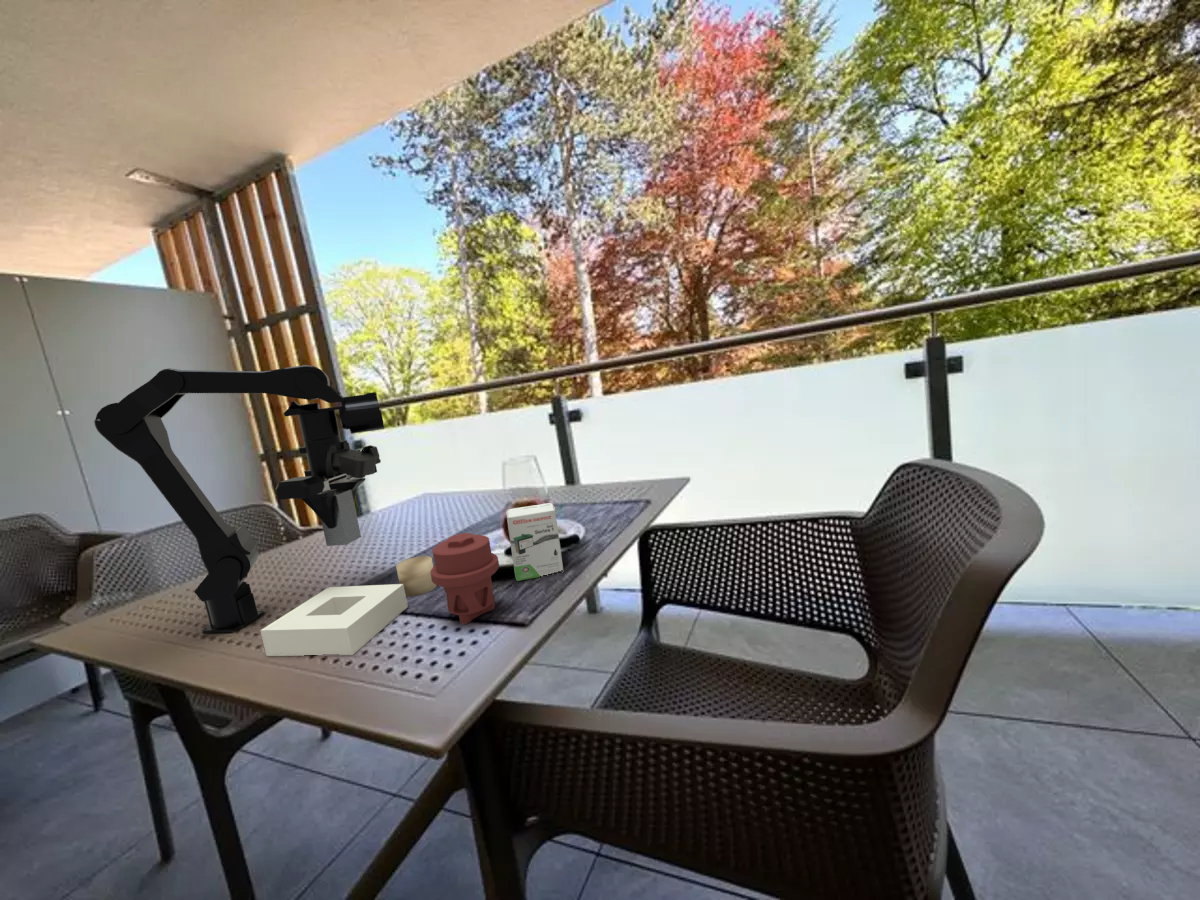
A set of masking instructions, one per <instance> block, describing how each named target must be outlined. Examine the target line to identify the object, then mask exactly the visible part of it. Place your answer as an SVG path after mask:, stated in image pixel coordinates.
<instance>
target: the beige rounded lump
mask: <svg viewBox="0 0 1200 900" xmlns="http://www.w3.org/2000/svg"><path fill="white" fill-rule="evenodd" d="M433 567H434V564H433V558H432V556H429V555H420V556H414V557H410V558H407V559H405V560H402V561H401V562H399V563H398V564H396V567H395V568H396V572H397V578H398V584H403V585H404V590H405V595H406V597H416V596H421V595H424V594H426V593H429V592H431V591H433V590H434V589H435V588H436V587H437V585H436V584H434V583H433V582H432V579H431V573H430V572H431V569H432V568H433Z"/></svg>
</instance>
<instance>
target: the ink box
mask: <svg viewBox="0 0 1200 900" xmlns="http://www.w3.org/2000/svg"><path fill="white" fill-rule="evenodd" d="M505 515H506V520H507V528H508V535H509V541H510V542H509V543H510V549H511V555H512V563H513V569H514V570H513V571H514V577H515V580H516V581H517V582H520V581H526V580H529V579H531V580H532V579H536V578H540V576H541V577H544V576H543V575H547V576H549V575H548V574H551V573H554V572H558V571H561V570H563V571H564V566H563V559H562V558H563V557H562V551H561V550H562V549H561V543H560V536H559V528H558V520H557V514H556V508H555V506H554V504H553V503H551V502H548V503H547V502H546V503H541V504H536V505H535V504H534V505H528V506H521V507H514V508H509V509H508V510H507V511H505Z"/></svg>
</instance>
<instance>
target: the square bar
mask: <svg viewBox="0 0 1200 900" xmlns="http://www.w3.org/2000/svg"><path fill="white" fill-rule="evenodd" d="M332 503H333V510H334V516H335V528H331V529H329V528H328V527H327V526H326V525H325V524H324V522H323V521H322V520H321V519H320V522H321V525H322V529H323V535H324V538H325V540H324V541H325V543H326V547H333V546H335V547H336V546H347V545H349V544H351V543H353V542H355V541H357V540H358V539H360V538H362V535H361V529H360V525H359V520H358V515H357V510H356V506H355V499H354V500H353V495H352V491H351V489H349V490H338V491H336V492H335V494H334V496H333V498H332Z"/></svg>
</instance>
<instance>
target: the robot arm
mask: <svg viewBox="0 0 1200 900" xmlns="http://www.w3.org/2000/svg"><path fill="white" fill-rule="evenodd" d="M186 394H268V395H275V396H280V397H287V398H295V399H302V400H308V401H309V400H310V401H311V400H322V401H323V402H326V403H328V404H332V403H333V404H334V403H341V405H339V406H332V407H324V408H321V405H320V404H319V402H311V403H306V404H299V403H298V402H296V401H295V400H293V401H291V402H290V405H289V407H288V408H287V409H286V410H285V411H284V412H283V416H284V417H291V416H297V418H298V423H299V427H300V432H301V437H302V440H303V444H304V445H303V447H299V448H298V450H299V454H300V455H302V454H305V455H306V459H307V464H308V467H309V469H308V470H304V471H303V474H304V476H297V477H296V476H295V477H291V478H289V479H286V480H282V481H279V482H278V483H277V485H276V487H275V492H276V497H277V500H278V501H280V500H282V501H283V500H293V499H294V500H295V499H297V500H299V499H301V500H302V502H304V503H305V504H306V506H308V507H309V509H311V510H312V511H313V513H314V514H316V516H318V518H319V519H320V521H321V520H322V521H323V522H324V524H325V525H326V526H327V527H328V528H329V529H331V528H335V516H334V510H333V503H332V498H333V496H334V494H335V492H336V491H338V490H349V489H351V491H352V495H353V500H354V501H355V497H356V492H357V490H358V488H359V486H361V484H363V482H365V481H366V478H365V477H367V476H370V475H374V474H375V473H378V470H377V465H378V464H380V463H381V460H382V459H380V453H379V449H378V447H377V446H375V445H371V444H370V445H365V446H364V447H362V449H356V450H355V449H352V448H351V447H350V442H348V439H347V440H342V439H341V438H342V437H341V433H340V428H339V423H338V419H337V415H336V411H338V413H339V418H340V423H341V427H342V429H343V430H349V431H350V434H351V435H354V434H359V433H365V432H374V431H378V430H384V429H385V425H384V419H383V414H382V410H381V408H380V404H379V399H378V395H377V392H376V391H375V392H374V391H372V392H367V393H365V394H357V395H349V396H343V395H342V393H341V391H337V389H335V388H334V387H333V386H331V382H330V378H329V376H328V375H327V373H325V372H324V371H323V370H322V369H320V368H318V367H317V366H314V365H310V364H305V365H297V366H291V367H282V368H277V369H272V370H263V371H261V370H260V371H257V370H254V371H253V370H250V371H249V370H246V371H245V370H197V369H195V370H190V369H189V370H185V369H184V370H183V369H177V368H164V369H161V370H159V371H158V372H157V373H156V374H155V375H154V376H153V377H152V378H151V379H149V380H148V381H147V382H145V383H144V384H142V385H141V386H139V387H138V388H136V389H134V390H133V391H131V392H130V393H129V394H126V395H125V397H123V398H122V399H121V400H119V401H118V402H113V403H108V404H107V405H105V406H103V407H102V408H100V409H99V411H97V414H96V416H95V419H94V421H93V422H94V427H95V428H96V431H97V432H98V433H99V434H100V435H101V436H102V437H103V438H104V439H105V440H107V441H108V442H109V443H110V444H111V445H112V446H113V447H114V448H115V449H116V450H118V451H120V452H121V453H123V454H124V455H125V456H127V457H128V458H130V459H131V460H133V461H135V462H136V463H138V465H139V466H140V467H141V468H142V469H143V471H144V472H145V473H146V475H147V476H148V478H149V479H150V481H151V482H152V483H153V484H154V486H155V487H156V488H157V489H158V490H159V492H160V493H161V494H162V496H163V497H164V498H165V500H166V501H167V502H168V504H169V505H170V506H171V507H172V509H173V511H174V512H175V513H176V514H177V516H178V517H179V518H180V520H181V522H183V523H184V525H185V526H186V528H187V529H188V530H189V531H190V532H191V534H192V535H193V536H194V538H195V540H196V543H197V546H198V551H199V555H200V558H201V561H202V564H203V565H204V567H205V569H206V571H207V573H208V574H206V576H205V577H204V579H202V581H201V582H200V584H199V585H198V586H197V587H196V588H195V590H194V594H195V595H196V597H198V599H200V601H201V602H203V603H204V607H205V610H206V614H207V618H208V621H209V625H208V626H206V627H204V628H202V629H201V633H203V634H206V633H209V634H210V633H235V632H236V631H238V630H239V628H240V629H241V628H243V627H245V626H246V625H248V624H250V623H252V622H253V621H255V620H256V619H258V618H260V617H261V616H264V615H265V614H266V611H265V610H263V609H262V610H261V609H260V610H258V608H257V605H256V599H255V596H254V595H255V594H254V593H253V592H252V588H251V585H250V583H247V582H246V581H245V580H246V579H247V578H248V576H249V572H251V570H252V569H253V567H254V565H255V564H256V563H257V560H258V558H259V557H258V556H259V552H258V549H257V546H258V544H259V542H258V541H256V540H254V539H253V538H252V536H251V534H250V533H249V531H248V529H247V528H246V525H241V526H240V527H238V528H237V529H236V528H235V527H233V526H231V525H230V524H228V523H226V521H225V520H224V519H223V518H222V516H221V515H220V514H219V512H218V511H217V509H216V508H215V507H214V506H213V504H212V503H211V501H210V500H209V499H208V498H207V496H206V494H205V493H204V491H202V489H201V488H200V486H199V485H198V483H197V482H196V481H195V480H194V478H193V477H192V475H191V474H190V473H189V472H188V470H187V469H186V467H185V466H184V465H183V463H182V461H181V460H180V459H179V458H178V456H177V455H176V454H175V452H174V451H173V449H172V447H171V443H170V438H169V434H168V431H167V429H166V426H165V425H164V422H163V420H162V418H164V417H165V416H166V415H168V413H170V411H172V410H173V408H174V407H175V406H176V405H177V404H178V402H180V400H181V399H182V398H183V397H184V396H185V395H186ZM322 521H321V522H322ZM249 622H250V623H249ZM247 623H248V624H247ZM244 625H245V626H244ZM242 626H243V627H242Z"/></svg>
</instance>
